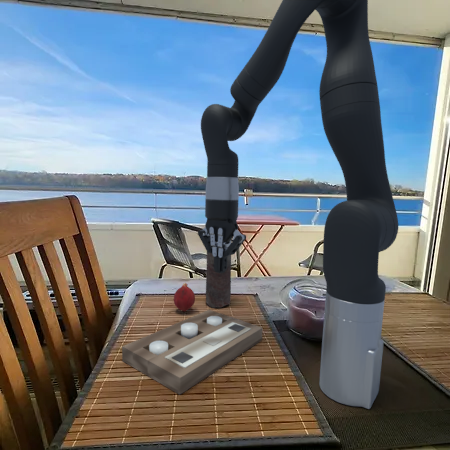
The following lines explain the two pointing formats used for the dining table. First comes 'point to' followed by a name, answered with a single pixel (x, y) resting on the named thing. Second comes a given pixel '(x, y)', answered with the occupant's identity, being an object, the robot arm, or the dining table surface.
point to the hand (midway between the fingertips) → (220, 272)
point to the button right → (214, 320)
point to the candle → (218, 284)
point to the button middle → (189, 330)
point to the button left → (158, 347)
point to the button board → (192, 350)
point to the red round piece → (184, 298)
